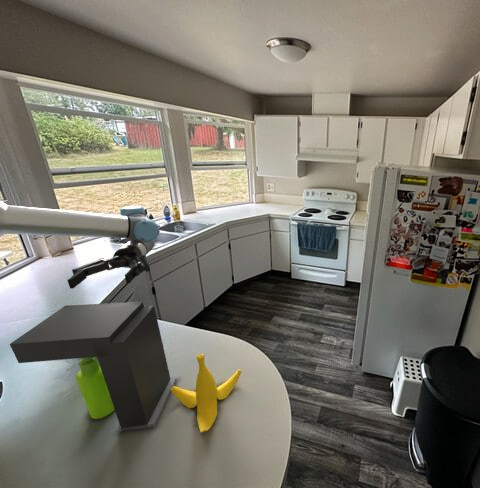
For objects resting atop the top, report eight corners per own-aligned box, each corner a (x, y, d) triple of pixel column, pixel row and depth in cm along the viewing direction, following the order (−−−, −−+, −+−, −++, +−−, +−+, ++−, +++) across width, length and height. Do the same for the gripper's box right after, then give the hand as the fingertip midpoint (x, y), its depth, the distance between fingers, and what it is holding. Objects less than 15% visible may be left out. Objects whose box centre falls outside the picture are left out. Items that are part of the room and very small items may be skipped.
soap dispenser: (91, 403, 69) (69, 344, 62) (121, 395, 71) (103, 338, 65) (80, 423, 64) (55, 362, 57) (113, 414, 66) (93, 355, 59)
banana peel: (173, 394, 72) (162, 348, 67) (242, 376, 79) (237, 333, 73) (161, 455, 58) (146, 402, 52) (246, 427, 64) (241, 377, 59)
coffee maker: (54, 439, 60) (9, 344, 51) (95, 388, 73) (65, 305, 64) (154, 427, 64) (129, 335, 54) (176, 380, 77) (159, 300, 67)
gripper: (170, 261, 96) (151, 288, 77) (92, 266, 89) (49, 298, 70) (167, 242, 93) (146, 266, 74) (85, 247, 86) (40, 274, 67)
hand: (99, 281), depth 72 cm, fingers open, 13 cm apart
